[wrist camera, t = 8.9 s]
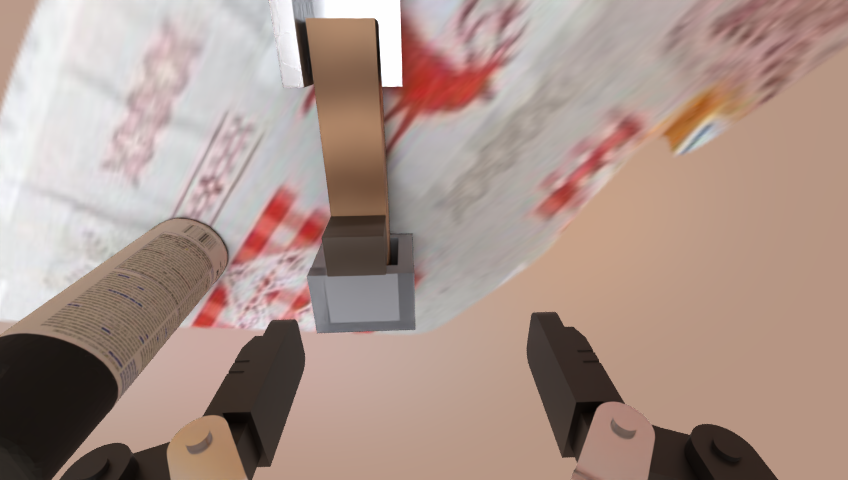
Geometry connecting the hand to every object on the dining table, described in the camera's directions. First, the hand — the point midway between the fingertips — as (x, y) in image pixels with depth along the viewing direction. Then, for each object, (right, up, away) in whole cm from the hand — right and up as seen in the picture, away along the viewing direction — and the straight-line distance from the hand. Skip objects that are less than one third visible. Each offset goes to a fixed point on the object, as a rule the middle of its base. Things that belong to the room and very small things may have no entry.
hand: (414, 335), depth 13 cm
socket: (-5, +1, +22) cm, 23 cm away
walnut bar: (-5, +9, +17) cm, 20 cm away
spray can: (-21, +3, +21) cm, 29 cm away
